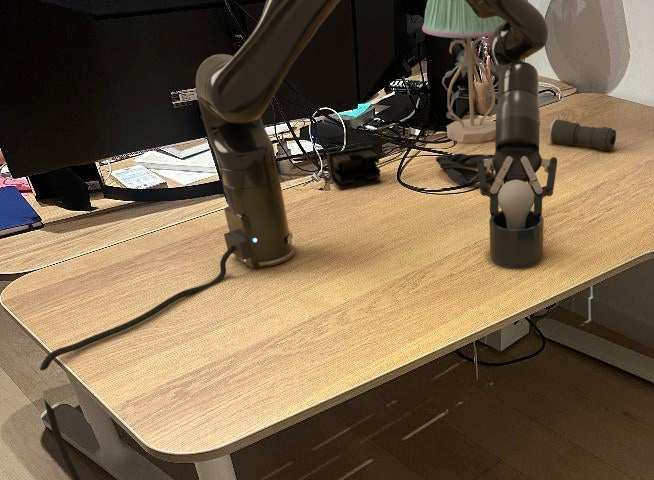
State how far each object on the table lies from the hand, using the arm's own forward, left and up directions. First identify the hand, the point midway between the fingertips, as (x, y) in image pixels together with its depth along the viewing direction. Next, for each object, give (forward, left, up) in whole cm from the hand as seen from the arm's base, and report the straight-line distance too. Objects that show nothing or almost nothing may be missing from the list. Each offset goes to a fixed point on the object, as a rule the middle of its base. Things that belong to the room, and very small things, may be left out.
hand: (516, 217), depth 126 cm
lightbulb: (+1, +1, -5) cm, 6 cm away
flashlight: (+54, +30, -8) cm, 63 cm away
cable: (+24, +36, -8) cm, 44 cm away
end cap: (+4, +52, -8) cm, 53 cm away
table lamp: (+43, +56, -8) cm, 71 cm away
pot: (+1, +1, -8) cm, 8 cm away
